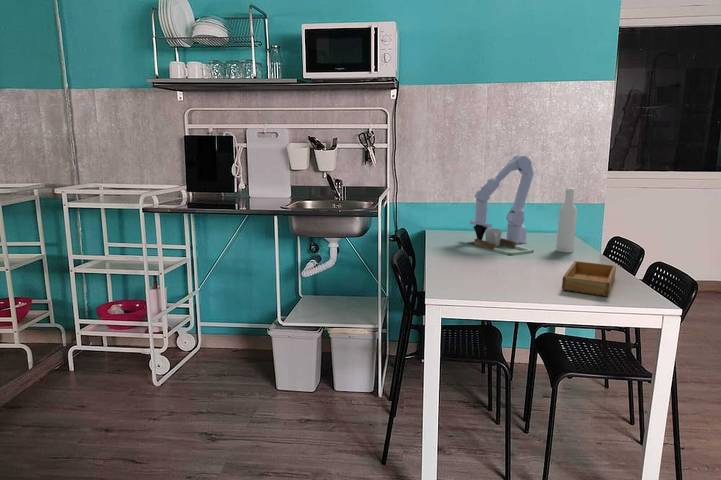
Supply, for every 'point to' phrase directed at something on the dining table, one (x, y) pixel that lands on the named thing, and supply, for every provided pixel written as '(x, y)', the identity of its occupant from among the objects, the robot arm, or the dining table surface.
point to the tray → (589, 278)
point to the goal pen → (515, 251)
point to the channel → (492, 245)
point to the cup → (493, 235)
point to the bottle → (567, 224)
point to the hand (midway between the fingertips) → (479, 239)
